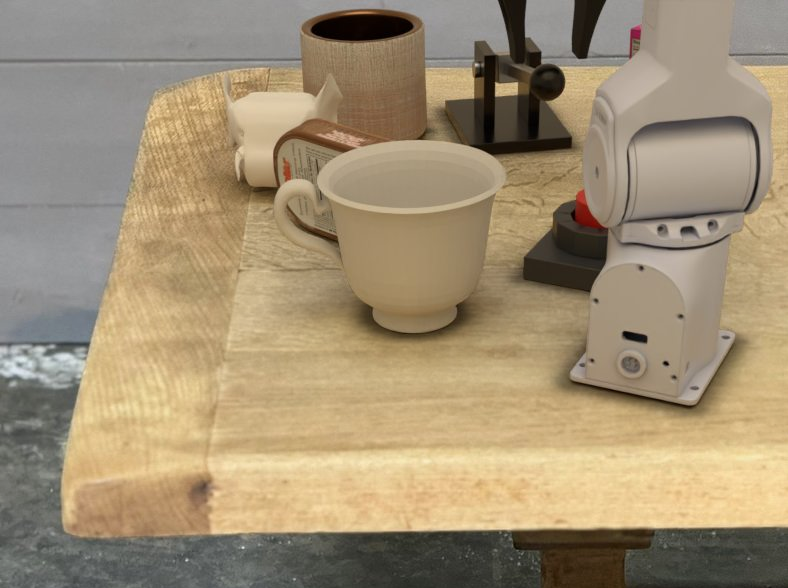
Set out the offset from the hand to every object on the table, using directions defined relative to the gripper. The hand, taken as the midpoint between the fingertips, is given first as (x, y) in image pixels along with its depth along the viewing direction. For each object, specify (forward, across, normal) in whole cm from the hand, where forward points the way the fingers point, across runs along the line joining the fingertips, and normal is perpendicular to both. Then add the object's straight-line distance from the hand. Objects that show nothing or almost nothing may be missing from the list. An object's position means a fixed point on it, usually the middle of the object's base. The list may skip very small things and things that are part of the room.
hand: (548, 57), depth 101 cm
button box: (+10, -1, +14) cm, 18 cm away
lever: (+5, 0, -7) cm, 8 cm away
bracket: (+10, 0, -14) cm, 18 cm away
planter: (+11, +12, -16) cm, 23 cm away
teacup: (+11, +15, +20) cm, 27 cm away
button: (+7, -1, +14) cm, 16 cm away
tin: (+11, +16, +7) cm, 21 cm away
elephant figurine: (+11, +21, -6) cm, 24 cm away
